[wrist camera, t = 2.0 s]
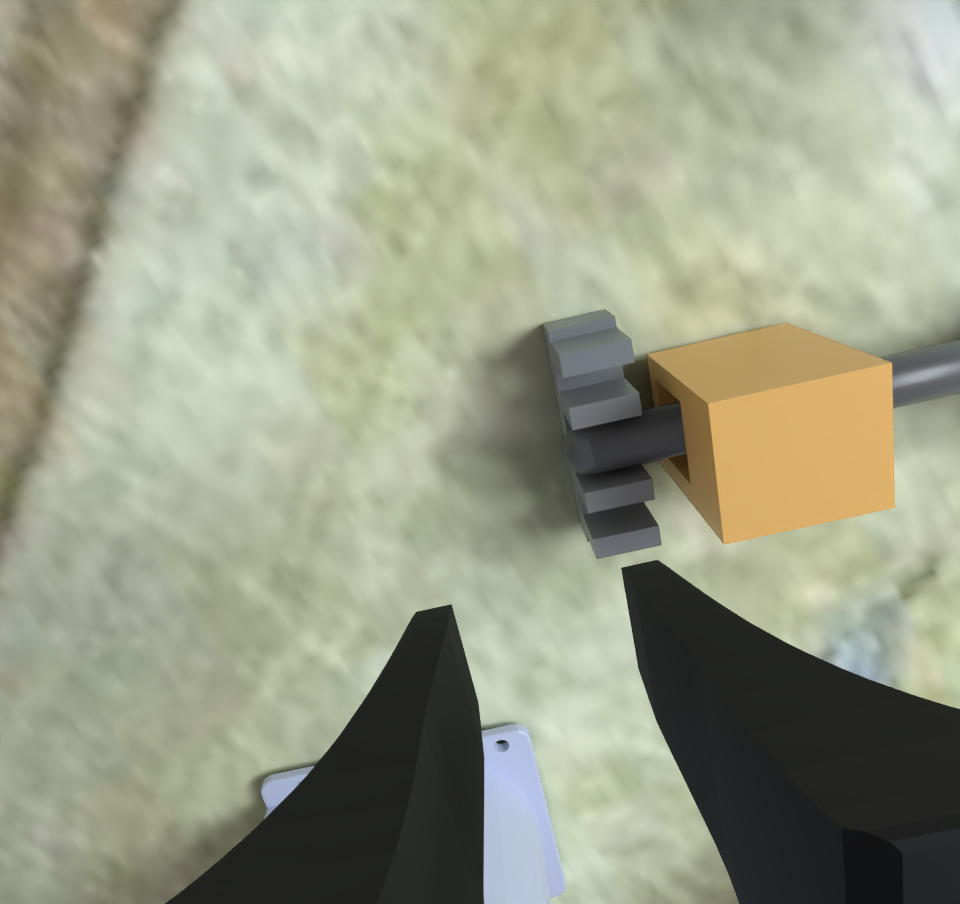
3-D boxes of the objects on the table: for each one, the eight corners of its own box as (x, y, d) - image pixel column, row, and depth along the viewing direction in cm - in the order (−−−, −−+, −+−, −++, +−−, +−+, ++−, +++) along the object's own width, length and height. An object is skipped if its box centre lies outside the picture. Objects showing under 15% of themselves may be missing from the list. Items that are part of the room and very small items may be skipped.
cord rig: (571, 526, 22) (591, 581, 19) (532, 326, 20) (548, 351, 17) (1149, 400, 22) (1270, 435, 18) (1174, 179, 19) (1317, 176, 16)
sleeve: (662, 466, 21) (724, 544, 17) (646, 354, 20) (708, 403, 15) (794, 437, 21) (894, 507, 16) (786, 322, 20) (891, 362, 15)
